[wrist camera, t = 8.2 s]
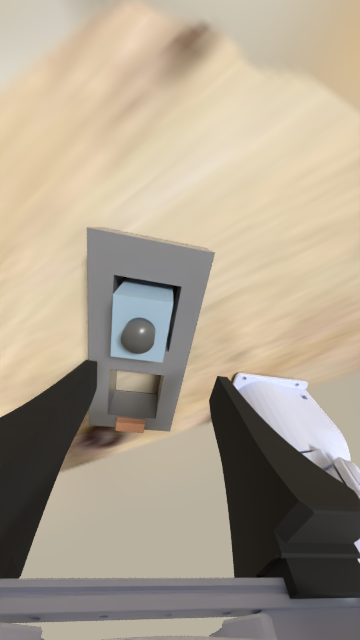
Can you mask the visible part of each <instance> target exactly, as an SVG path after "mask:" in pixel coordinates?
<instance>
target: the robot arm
mask: <svg viewBox="0 0 360 640" xmlns="http://www.w3.org/2000/svg"><path fill="white" fill-rule="evenodd" d="M243 377H244V378H243ZM307 386H308V383H307V382H306V381H302V380H294V379H286V378H278V377H269V376H261V375H253V374H245V373H238V374H236V376H235V378H234V381H233V383H231V381H230V380H229V379H228V378H227V377H221V376H217V379H216V382H215V385H214V388H213V391H212V394H211V397H210V399H209V403H210V412H211V419H212V423H213V427H214V431H215V435H216V440H217V444H218V448H219V452H220V457H221V462H222V466H223V474H224V481H225V488H226V495H227V503H228V512H229V520H230V530H231V540H232V552H233V564H234V576H235V578H77V579H76V578H68V579H67V578H60V579H59V578H58V579H56V578H50V579H49V578H48V579H19V577H20V576H21V573H22V571H23V567H24V565H25V562H26V559H27V556H28V553H29V551H30V548H31V545H32V542H33V539H34V536H35V533H36V531H37V528H38V525H39V523H40V520H41V517H42V515H43V512H44V509H45V506H46V504H47V501H48V498H49V496H50V493H51V491H52V488H53V486H54V483H55V481H56V478H57V476H58V473H59V471H60V468H61V466H62V463H63V461H64V458H65V456H66V453H67V451H68V449H69V447H70V445H71V443H72V441H73V439H74V437H75V435H76V433H77V431H78V429H79V427H80V425H81V423H82V421H83V419H84V417H85V415H86V413H87V411H88V409H89V407H90V405H91V403H92V400H93V398H94V395H95V392H96V389H97V361H91V360H86V361H84V362H83V363H82V364H80V365H79V366H78V367H76V368H75V369H74V370H73V371H71V372H70V373H69V374H68V375H66V376H65V377H64V378H62V379H61V380H60V381H58V382H57V383H56V384H54V385H53V386H51V387H50V388H48V389H47V390H45V391H44V392H43V393H41V394H40V395H38V396H37V397H35V398H34V399H32V400H30V401H29V402H27V403H26V404H24V405H22V406H20V407H19V408H17V409H15V410H14V411H12V412H10V413H8V414H6V415H4V416H2V417H0V640H44V639H42V638H41V634H42V630H41V627H36V626H28V625H19V624H11V623H30V622H64V621H65V622H67V621H98V620H99V621H100V620H135V619H172V618H205V617H206V618H207V617H238V618H233V619H228V620H224V622H223V624H222V628H221V629H219V630H218V631H217V632H215V633H213V634H211V635H209V637H202V636H154V637H132V638H117V639H104V640H360V469H359V468H358V467H357V466H356V465H355V464H354V463H352V462H350V453H349V449H348V446H347V443H346V441H345V439H344V437H343V435H342V434H341V432H340V431H339V429H338V428H337V427H336V426H335V424H334V423H333V422H332V421H331V420H330V418H329V417H328V416H327V415H326V414H325V412H324V411H323V410H322V409H321V408H320V407H319V406H318V404H317V403H316V402H315V401H314V399H312V397H311V396H310V395H309V394H308V392H307V391H306V390H305V389H306V388H307ZM242 616H243V617H242Z"/></svg>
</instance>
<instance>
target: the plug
mask: <svg viewBox="0 0 360 640" xmlns="http://www.w3.org/2000/svg"><path fill="white" fill-rule="evenodd" d="M172 309H173V285H170V284H164V283H158V282H152V281H147V280H141V279H135V278H129V277H127V278H126V280H125V281H124V282H123V283H122V284H121V285H120V287H119V288H118V289H117V290H116V291H115V292H114V294H113V308H112V332H111V356H112V357H120V358H129V359H137V360H145V361H154V362H162V363H163V358H164V353H165V347H166V342H167V336H168V331H169V325H170V320H171V314H172Z"/></svg>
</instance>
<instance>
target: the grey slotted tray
mask: <svg viewBox="0 0 360 640" xmlns="http://www.w3.org/2000/svg"><path fill="white" fill-rule="evenodd" d="M214 254H215V253H214V252H212V251H210V250H209V249H207V248H202V247H197V246H192V245H187V244H182V243H177V242H172V241H167V240H162V239H157V238H152V237H148V236H143V235H138V234H133V233H128V232H123V231H118V230H113V229H108V228H95V227H87V279H88V360H91V361H97V389H96V392H95V395H94V398H93V400H92V403H91V405H90V407H89V425H95V426H108V427H116V431H124V432H137V433H143V432H144V429H145V430H158V431H170V429H171V425H172V421H173V417H174V413H175V409H176V405H177V401H178V397H179V393H180V389H181V385H182V381H183V377H184V373H185V369H186V365H187V361H188V357H189V353H190V349H191V345H192V341H193V337H194V333H195V329H196V325H197V321H198V317H199V313H200V309H201V305H202V301H203V297H204V293H205V290H206V286H207V282H208V278H209V274H210V270H211V266H212V262H213V258H214ZM123 276H124V277H129V278H135V279H141V280H147V281H152V282H158V283H164V284H170V285H175V286H178V288H177V294H176V299H175V304H174V309H173V315H172V320H171V325H170V331H169V333H168V336H167V342H166V347H165V353H164V358H163V363H162V362H154V361H145V360H137V359H129V358H120V357H112V356H111V332H112V308H113V294H114V292H115V291H116V290H117V289H118V288H119V287H120V285H121V284H122V283H123ZM117 370H120V371H129V372H138V373H146V374H155V375H161V378H160V384H159V389H158V394H149V393H139V392H129V391H120V390H116V376H117Z"/></svg>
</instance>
